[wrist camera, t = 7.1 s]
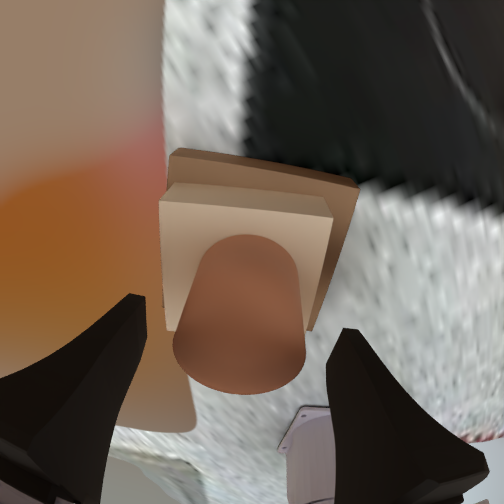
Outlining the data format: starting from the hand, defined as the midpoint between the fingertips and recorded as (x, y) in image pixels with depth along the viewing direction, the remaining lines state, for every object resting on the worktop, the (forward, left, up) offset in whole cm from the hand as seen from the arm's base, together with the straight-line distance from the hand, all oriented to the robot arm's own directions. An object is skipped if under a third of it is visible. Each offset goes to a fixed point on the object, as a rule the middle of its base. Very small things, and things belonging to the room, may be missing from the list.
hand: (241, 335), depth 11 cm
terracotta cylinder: (0, 0, -3) cm, 3 cm away
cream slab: (0, 0, -6) cm, 6 cm away
